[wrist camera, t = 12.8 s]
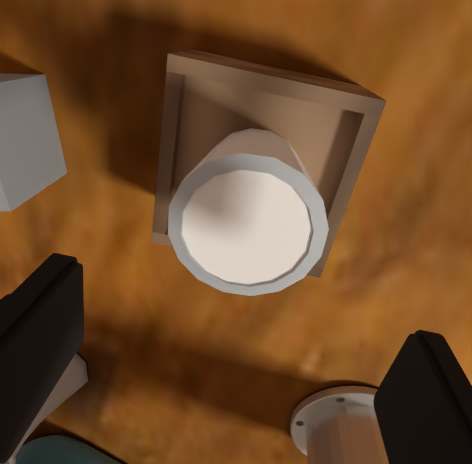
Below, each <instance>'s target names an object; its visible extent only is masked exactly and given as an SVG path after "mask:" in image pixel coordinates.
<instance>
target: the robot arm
mask: <svg viewBox="0 0 472 464" xmlns="http://www.w3.org/2000/svg"><path fill="white" fill-rule="evenodd" d="M83 337H84V303H83V266H82V264H80V263H78V262H77V259H76V258H75V257H72V256H67V255H62V254H58V253H53V254H52V255H51V256H49V257H48V258H47V259H46V260H45V261H44V262H43V263H42V264H41V265H40V266H39V267H38V268H37V269H36V270H35V271H34V272H33V273H32V274H31V275H30V276H29V277H28V278H27V279H26V280H25V281H24V282H23V283H22V284H21V285H20V286H19V287H18V288H17V289H16V290H15V291H14V292H13V293H12V294H8V295H6V296H5V297H3V298H2V299H1V300H0V463H1V464H4V463H6V462H7V461H8V460H9V459H10V457H11V456H12V454H13V453H14V451H15V450H16V448H17V446H18V445H19V443H20V442H21V440H22V438H23V437H24V435H25V434H26V432H27V430H28V429H29V427H30V426H31V424H32V422H33V421H34V419H35V418H36V416H37V414H38V413H39V411H40V410H41V408H42V406H43V405H44V403H45V402H46V400H47V398H48V397H49V395H50V394H51V392H52V390H53V389H54V387H55V386H56V384H57V382H58V381H59V379H60V378H61V376H62V374H63V373H64V371H65V370H66V368H67V366H68V365H69V363H70V362H71V360H72V358H73V357H74V355H75V354H76V352H77V350H78V349H79V347H80V345H81V343H82V341H83ZM290 433H291V437H292V440H293V442H294V444H295V445H296V447H297V448H298V449H299V450H300V451H301V452H302V453H304V454H305V455H306V456H307V459H308V464H472V386H471V384H470V382H469V380H468V379H467V377H466V375H465V373H464V372H463V370H462V368H461V366H460V364H459V363H458V361H457V359H456V357H455V356H454V354H453V352H452V350H451V349H450V347H449V345H448V343H447V342H446V340H445V338H444V337H443V336H442V335H441V334H437V333H433V332H428V331H423V330H418V331H416V332H415V334H410V335H409V336H408V337H407V339H406V341H405V343H404V344H403V346H402V348H401V350H400V351H399V353H398V355H397V357H396V358H395V360H394V362H393V364H392V365H391V367H390V369H389V371H388V372H387V374H386V376H385V378H384V379H383V381H382V383H381V385H380V386H379V388H378V389H374V388H369V387H364V386H339V387H334V388H328V389H325V390H322V391H319V392H317V393H315V394H313V395H311V396H309V397H307V398H306V399H305V400H303V401H302V402H301V403H300V404H299V405H298V406H297V407H296V408H295V410H294V412H293V414H292V416H291V420H290Z"/></svg>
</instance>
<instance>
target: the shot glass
mask: <svg viewBox="0 0 472 464" xmlns="http://www.w3.org/2000/svg"><path fill="white" fill-rule="evenodd" d="M328 231H329V228H328V222H327V217H326V212H325V206H324V201H323V199H322V197H321V195H320V194H319V192H318V190H317V188H316V187H315V185H314V183H313V181H312V180H311V178H310V176H309V174H308V173H307V171H306V169H305V167H304V166H303V164H302V162H301V160H300V158H299V157H298V155H297V154H296V152H295V151H294V150H293V148H292V147H291V145H290V144H289V143H288V141H287V140H285V139H283V138H282V137H280V136H278V135H277V134H275V133H273V132H271V131H268V130H261V129H253V128H249V129H246V130H242V131H238V132H234V133H231V134H230V135H229V136H228V137H226V138H225V139H224V140H222V141H221V142H220V143H219V144H217V145H216V146H215V147H214V148H213V149H212V150H211V151H210V152H209V153H208V155H207V156H206V157H205V158H204V159H203V160H202V161H201V162H200V163H199V164H198V165H197V166H196V167H195V168H194V169H193V170H192V171H191V172H190V173H189V174H188V175H187V176H186V177H185V178H184V179H183V180H182V182H181V184H180V186H179V188H178V190H177V192H176V194H175V195H174V197H173V199H172V201H171V203H170V205H169V216H168V235H169V238H170V240H171V243H172V245H173V247H174V250H175V252H176V255H177V257H178V259H179V260H180V262H181V263H182V264H183V265H184V266H185V267H186V268H187V269H188V270H189V271H190V272H191V273H192V274H193V275H194V276H195V277H196V278H197V279H198V280H200V281H202V282H204V283H206V284H208V285H210V286H212V287H214V288H216V289H218V290H220V291H222V292H227V293H234V294H241V295H248V296H255V295H260V294H266V293H272V292H278V291H281V290H283V289H284V288H286V287H288V286H290V285H292V284H293V283H295V282H297V281H299V280H301V279H303V278H304V277H305V276H306V275H307V273H308V272H309V271H310V270H311V268H312V267H313V266H314V265H315V264H316V262H317V261H318V260H319V259H320V258H321V256H322V253H323V249H324V245H325V242H326V238H327V234H328Z"/></svg>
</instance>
